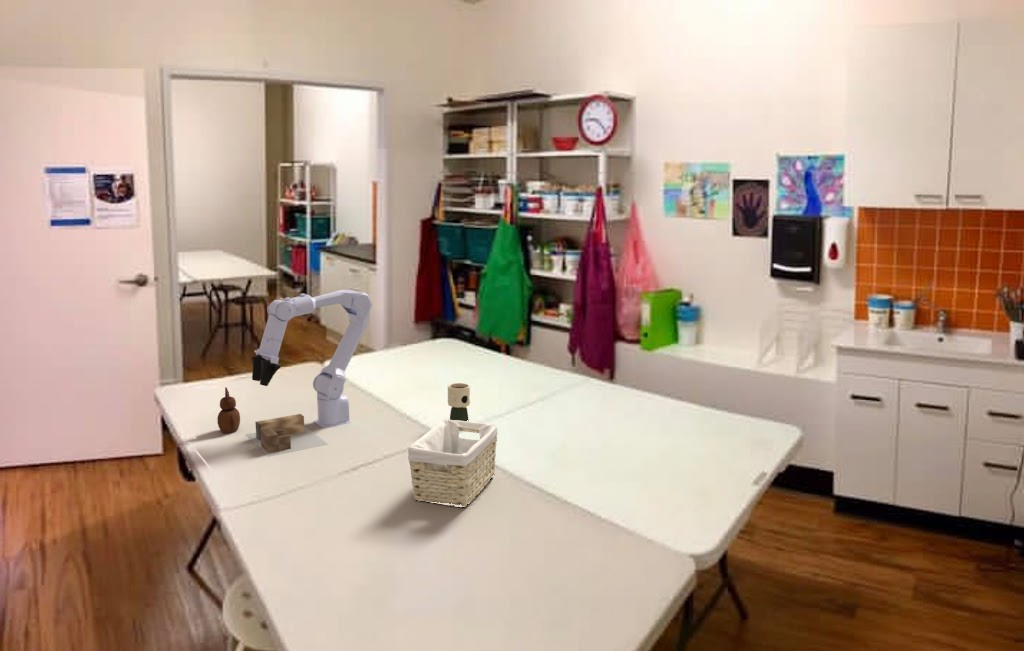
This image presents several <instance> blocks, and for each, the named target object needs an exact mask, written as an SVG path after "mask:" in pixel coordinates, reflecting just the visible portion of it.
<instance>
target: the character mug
mask: <svg viewBox="0 0 1024 651" xmlns="http://www.w3.org/2000/svg"><path fill="white" fill-rule="evenodd" d="M470 396H471V386H470V384H469V383H464V382H454V383H450V384H448V385H447V404H448V406H449V407H450V413H449V420H459V421H467V420H468V421H467V422H470V421H469V420H470V419H469V413H468V408H467V407H468V406H470V403H471V400H470Z"/></svg>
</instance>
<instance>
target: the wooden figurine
mask: <svg viewBox="0 0 1024 651" xmlns="http://www.w3.org/2000/svg"><path fill="white" fill-rule="evenodd" d="M236 406H237V401H236V398H235V397H234V396H230V392H229V390H228V387H226V386H225V388H224V397H222V398H221V399H220V401H219V408H220V411H219V413H218V415H217V418H216V419H217V426H218V428H219V430H220V432H221V433H222V434H227V435H228V434H234V433H236V432H237V431H238V430H239V427H240V425H241V424H240V423H241V414H240V411H239V410H238V409H237V408H236Z"/></svg>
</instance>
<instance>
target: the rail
mask: <svg viewBox="0 0 1024 651" xmlns="http://www.w3.org/2000/svg"><path fill="white" fill-rule="evenodd" d="M254 423H255V433H256V438H257V439H258V440H261V433H260V430H262V429H267V428H271V429H272V430H280V429H283V430H284V435H288V434H289V435H290V434H296V433H301V432H305V429H304V426H305V416H304V415H303V414H302V413H298V414H292V415H287V416H280V417H275V418H270V419H263V420H258V421H255V422H254Z"/></svg>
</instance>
